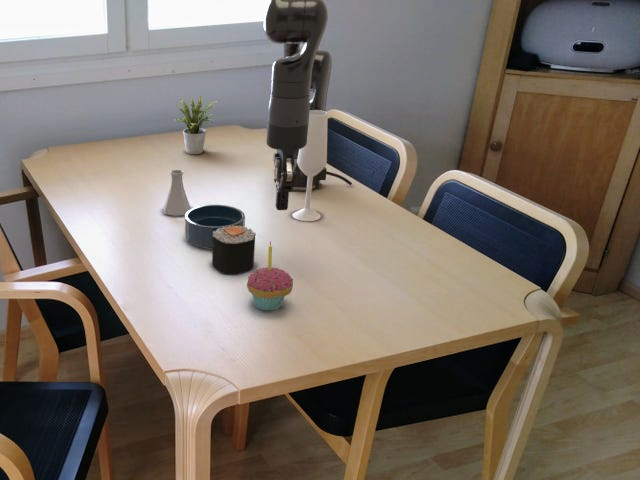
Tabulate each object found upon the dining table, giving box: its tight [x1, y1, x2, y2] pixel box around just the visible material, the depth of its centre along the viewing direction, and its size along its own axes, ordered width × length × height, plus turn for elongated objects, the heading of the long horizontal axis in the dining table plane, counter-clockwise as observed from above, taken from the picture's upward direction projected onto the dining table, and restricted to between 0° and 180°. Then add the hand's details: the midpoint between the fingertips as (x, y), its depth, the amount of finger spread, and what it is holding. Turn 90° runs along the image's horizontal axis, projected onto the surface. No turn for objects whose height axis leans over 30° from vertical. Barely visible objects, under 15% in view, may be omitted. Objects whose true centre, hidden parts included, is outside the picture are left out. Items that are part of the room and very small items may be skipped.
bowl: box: [184, 204, 246, 250], centre depth 152 cm, size 13×13×6 cm
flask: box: [162, 169, 192, 217], centre depth 165 cm, size 7×7×10 cm
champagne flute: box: [291, 110, 329, 222], centre depth 156 cm, size 7×7×24 cm
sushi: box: [211, 225, 257, 275], centre depth 139 cm, size 8×8×8 cm
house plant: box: [174, 95, 219, 155], centre depth 202 cm, size 14×14×16 cm
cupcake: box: [246, 241, 294, 312], centre depth 124 cm, size 9×8×12 cm
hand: (281, 208), depth 135 cm, fingers closed
